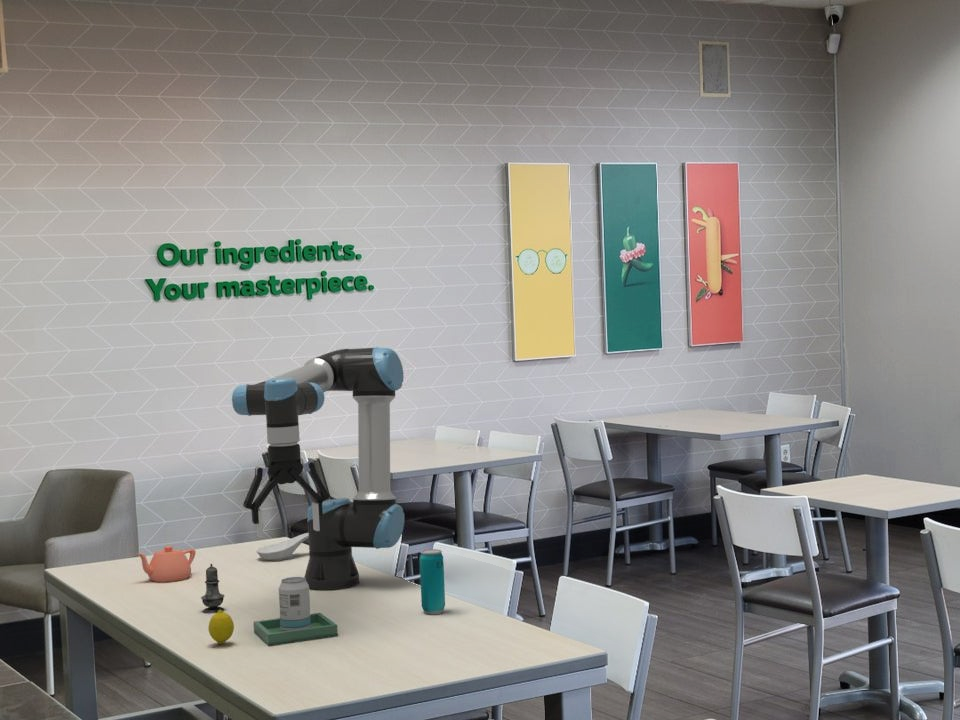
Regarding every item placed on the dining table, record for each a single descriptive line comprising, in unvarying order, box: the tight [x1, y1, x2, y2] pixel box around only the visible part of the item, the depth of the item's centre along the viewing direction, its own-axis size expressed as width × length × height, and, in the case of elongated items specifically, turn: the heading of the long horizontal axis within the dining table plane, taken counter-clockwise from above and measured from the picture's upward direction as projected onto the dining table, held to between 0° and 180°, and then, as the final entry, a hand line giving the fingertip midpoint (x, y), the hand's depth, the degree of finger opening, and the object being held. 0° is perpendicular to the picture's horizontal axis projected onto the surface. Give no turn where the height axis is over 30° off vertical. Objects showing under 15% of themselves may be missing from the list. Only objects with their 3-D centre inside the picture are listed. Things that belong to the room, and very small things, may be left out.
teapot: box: [135, 545, 196, 583], centre depth 342 cm, size 12×18×10 cm
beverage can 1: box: [278, 576, 311, 631], centre depth 273 cm, size 7×7×12 cm
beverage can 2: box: [419, 548, 446, 615], centre depth 288 cm, size 6×6×15 cm
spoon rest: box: [256, 532, 309, 562], centre depth 369 cm, size 24×12×7 cm, turn 113°
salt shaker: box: [200, 563, 225, 614], centre depth 300 cm, size 6×6×12 cm
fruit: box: [208, 609, 235, 646], centre depth 266 cm, size 6×6×8 cm
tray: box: [253, 612, 339, 647], centre depth 273 cm, size 16×14×2 cm
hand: (288, 533), depth 279 cm, fingers open, 13 cm apart
